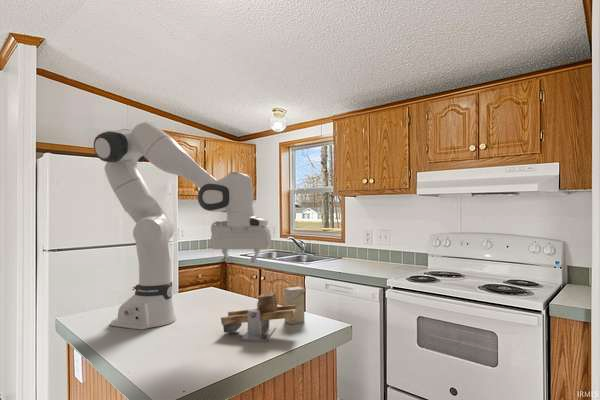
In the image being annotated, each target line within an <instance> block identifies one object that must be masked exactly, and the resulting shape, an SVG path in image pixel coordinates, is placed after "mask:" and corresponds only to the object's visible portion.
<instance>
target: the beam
mask: <svg viewBox="0 0 600 400" xmlns="http://www.w3.org/2000/svg"><path fill="white" fill-rule="evenodd" d="M248 310H249V309H245V310H244V309H243V310H236V311H233V310H232V311H228V312H227V316H223V317H220V320H221V325H222V327H223V332H224V333H235V332H237V331H239V329H240V328H241V327H242V326H243V323H248ZM251 310H259V309H257V308H253V309H251ZM296 313H297V305H288V306H285V305H282V306H281V305H279V306H278V311H277V312H268V313H261V321H264V320H270V321H271V320H272V321H273V320H280V319H281V320H282V319H285V318H293V317H294V316H295V314H296Z"/></svg>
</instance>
